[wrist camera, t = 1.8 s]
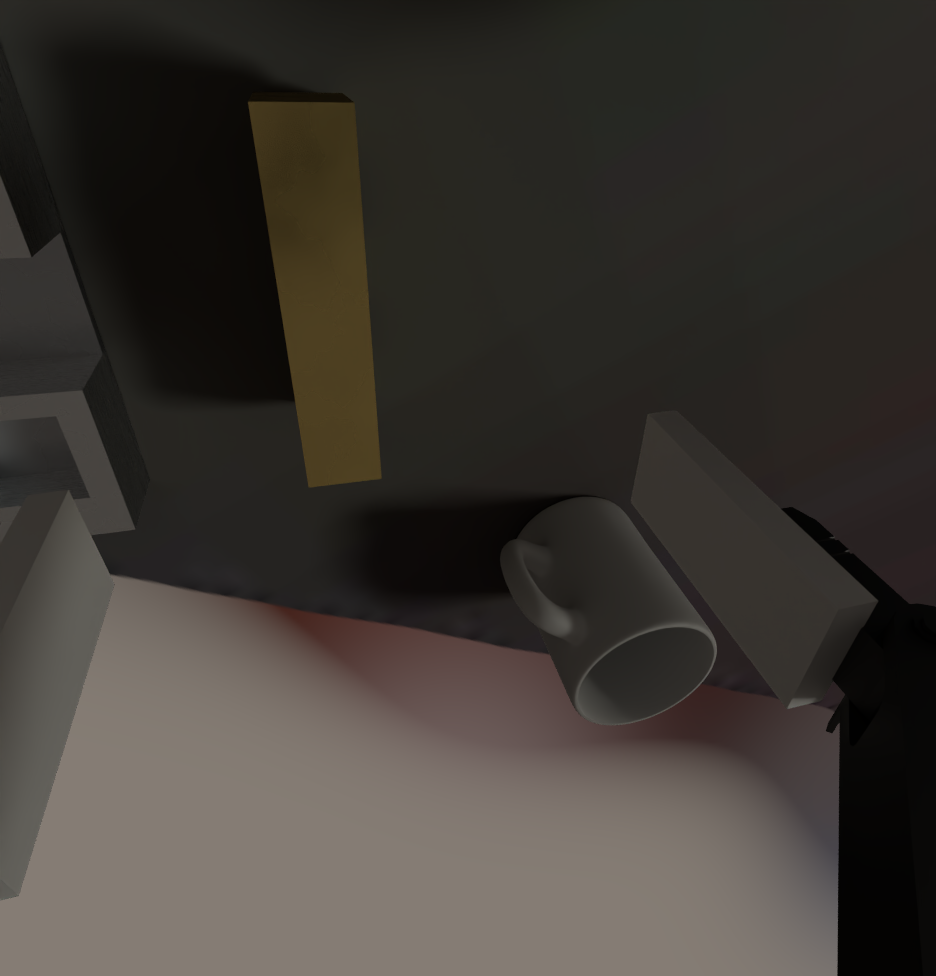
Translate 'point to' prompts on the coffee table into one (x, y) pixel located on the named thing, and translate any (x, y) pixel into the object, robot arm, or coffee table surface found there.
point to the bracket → (54, 356)
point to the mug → (607, 612)
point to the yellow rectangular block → (321, 276)
